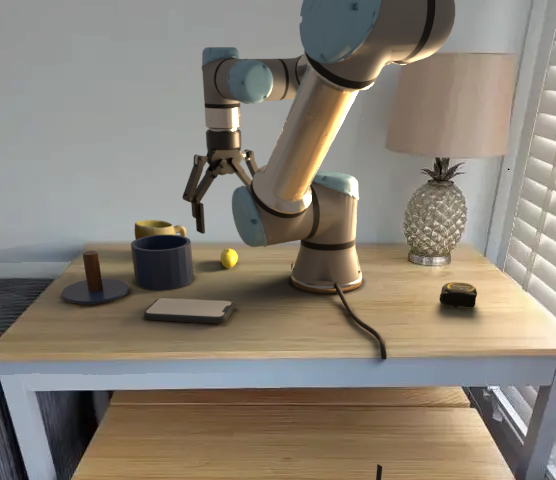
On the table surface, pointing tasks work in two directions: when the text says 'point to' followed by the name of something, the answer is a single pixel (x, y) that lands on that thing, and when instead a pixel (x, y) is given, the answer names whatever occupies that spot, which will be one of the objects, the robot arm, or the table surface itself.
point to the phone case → (189, 310)
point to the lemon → (228, 258)
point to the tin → (162, 261)
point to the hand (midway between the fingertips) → (227, 227)
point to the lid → (94, 284)
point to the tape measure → (458, 295)
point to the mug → (157, 228)
